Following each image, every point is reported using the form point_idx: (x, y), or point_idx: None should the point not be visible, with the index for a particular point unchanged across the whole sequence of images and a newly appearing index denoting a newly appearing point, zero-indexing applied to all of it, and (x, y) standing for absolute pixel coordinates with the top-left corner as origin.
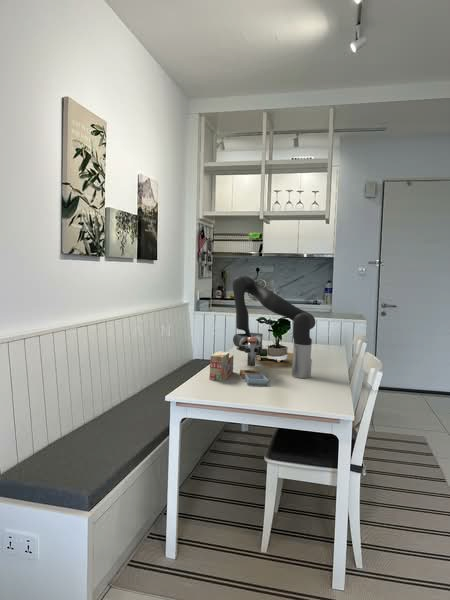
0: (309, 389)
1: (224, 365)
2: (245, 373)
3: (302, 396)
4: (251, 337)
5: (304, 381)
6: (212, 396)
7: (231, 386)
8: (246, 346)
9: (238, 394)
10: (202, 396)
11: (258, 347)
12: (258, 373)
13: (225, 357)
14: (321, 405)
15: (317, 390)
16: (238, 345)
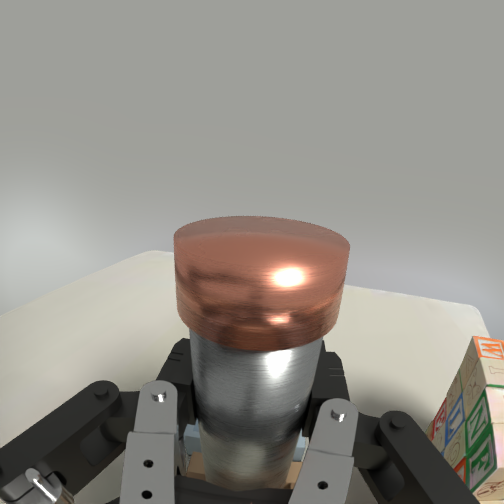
0: (81, 333)
1: (450, 420)
2: (297, 469)
3: (156, 301)
4: (270, 247)
5: (6, 396)
6: (402, 308)
7: (368, 378)
8: (333, 405)
9: (340, 319)
10: (423, 307)
11: (122, 413)
12: (200, 467)
13: (474, 392)
14: (160, 269)
15: (69, 324)
16: (464, 487)
